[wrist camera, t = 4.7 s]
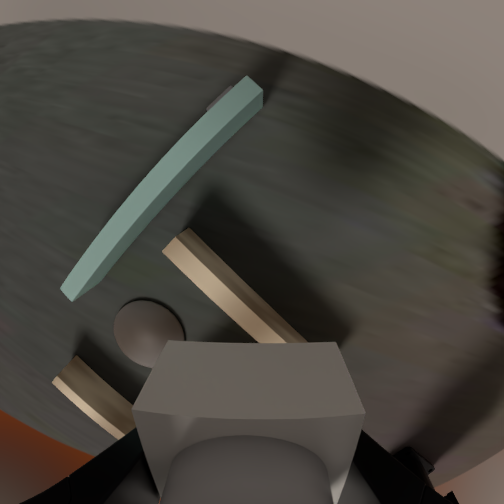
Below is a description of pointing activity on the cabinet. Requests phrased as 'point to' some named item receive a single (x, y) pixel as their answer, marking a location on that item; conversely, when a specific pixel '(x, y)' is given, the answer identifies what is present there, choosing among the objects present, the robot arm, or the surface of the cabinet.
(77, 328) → the cabinet surface
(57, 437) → the cabinet surface
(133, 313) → the housing
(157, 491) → the robot arm
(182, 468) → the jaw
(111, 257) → the panel
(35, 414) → the cabinet surface
